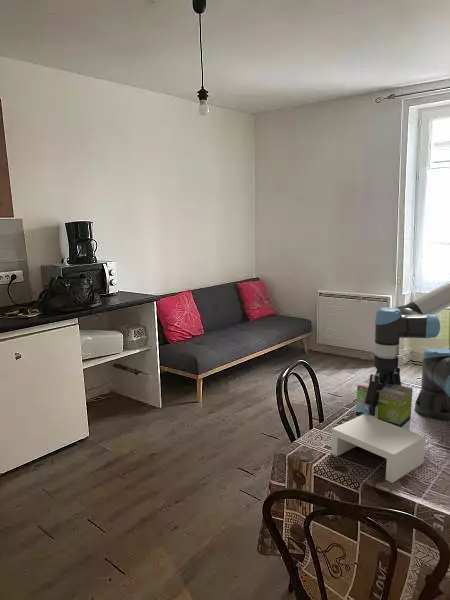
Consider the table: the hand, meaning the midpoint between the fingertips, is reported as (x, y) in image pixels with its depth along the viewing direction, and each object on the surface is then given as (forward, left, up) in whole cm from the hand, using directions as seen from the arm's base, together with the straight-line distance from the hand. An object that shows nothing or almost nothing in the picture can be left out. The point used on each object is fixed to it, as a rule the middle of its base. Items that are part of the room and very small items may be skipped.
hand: (382, 419), depth 150 cm
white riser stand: (+19, +10, -3) cm, 22 cm away
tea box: (0, 0, -3) cm, 3 cm away
